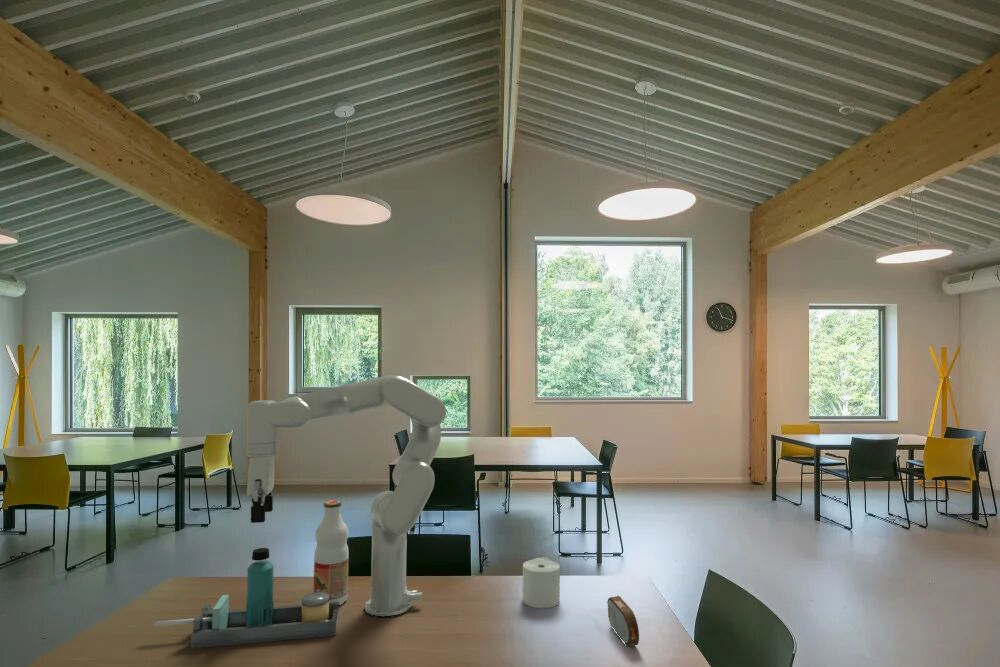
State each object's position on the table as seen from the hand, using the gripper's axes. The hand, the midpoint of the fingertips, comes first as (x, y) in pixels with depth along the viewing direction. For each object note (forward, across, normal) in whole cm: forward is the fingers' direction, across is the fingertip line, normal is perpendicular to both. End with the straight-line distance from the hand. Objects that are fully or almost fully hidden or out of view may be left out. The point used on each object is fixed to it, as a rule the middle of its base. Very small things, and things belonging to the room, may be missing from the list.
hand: (262, 516), depth 143 cm
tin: (+30, +20, +88) cm, 96 cm away
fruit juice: (+29, -15, +16) cm, 36 cm away
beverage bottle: (+29, -1, -1) cm, 29 cm away
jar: (+29, 0, +13) cm, 32 cm away
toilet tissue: (+30, -5, +74) cm, 81 cm away
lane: (+28, 0, +2) cm, 29 cm away
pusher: (+28, 0, -16) cm, 32 cm away
